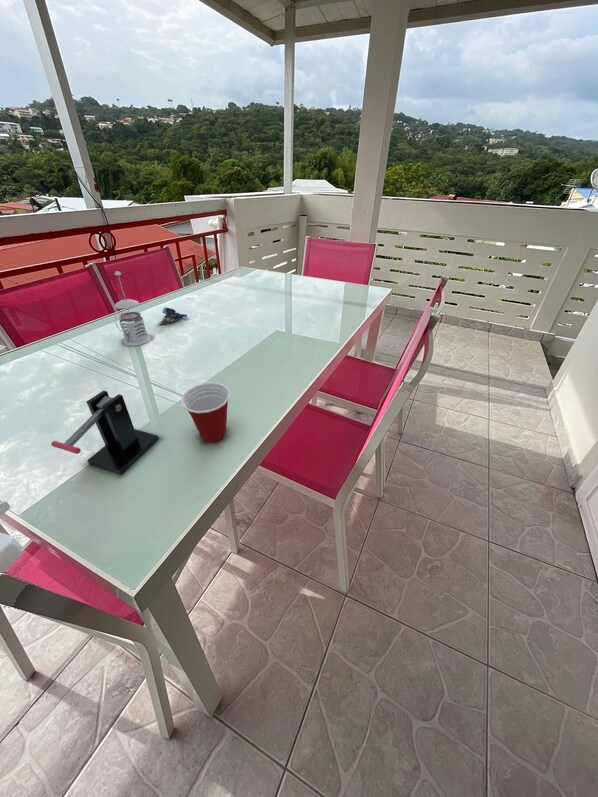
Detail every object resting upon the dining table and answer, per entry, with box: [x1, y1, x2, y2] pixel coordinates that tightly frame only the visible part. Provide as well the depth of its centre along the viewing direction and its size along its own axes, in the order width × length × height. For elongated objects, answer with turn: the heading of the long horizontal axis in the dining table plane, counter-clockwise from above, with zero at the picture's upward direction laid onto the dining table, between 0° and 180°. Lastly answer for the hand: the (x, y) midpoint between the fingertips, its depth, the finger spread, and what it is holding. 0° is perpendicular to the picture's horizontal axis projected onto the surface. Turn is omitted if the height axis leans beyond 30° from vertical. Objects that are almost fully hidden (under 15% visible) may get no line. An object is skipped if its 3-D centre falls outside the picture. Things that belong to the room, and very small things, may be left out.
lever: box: [50, 396, 113, 455], centre depth 65 cm, size 13×6×2 cm, turn 161°
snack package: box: [157, 307, 188, 326], centre depth 140 cm, size 12×6×12 cm
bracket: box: [86, 390, 159, 475], centre depth 71 cm, size 12×9×15 cm
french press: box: [113, 270, 152, 347], centre depth 117 cm, size 10×12×25 cm
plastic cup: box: [180, 381, 231, 443], centre depth 77 cm, size 11×11×12 cm
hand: (1, 501), depth 53 cm, fingers closed
